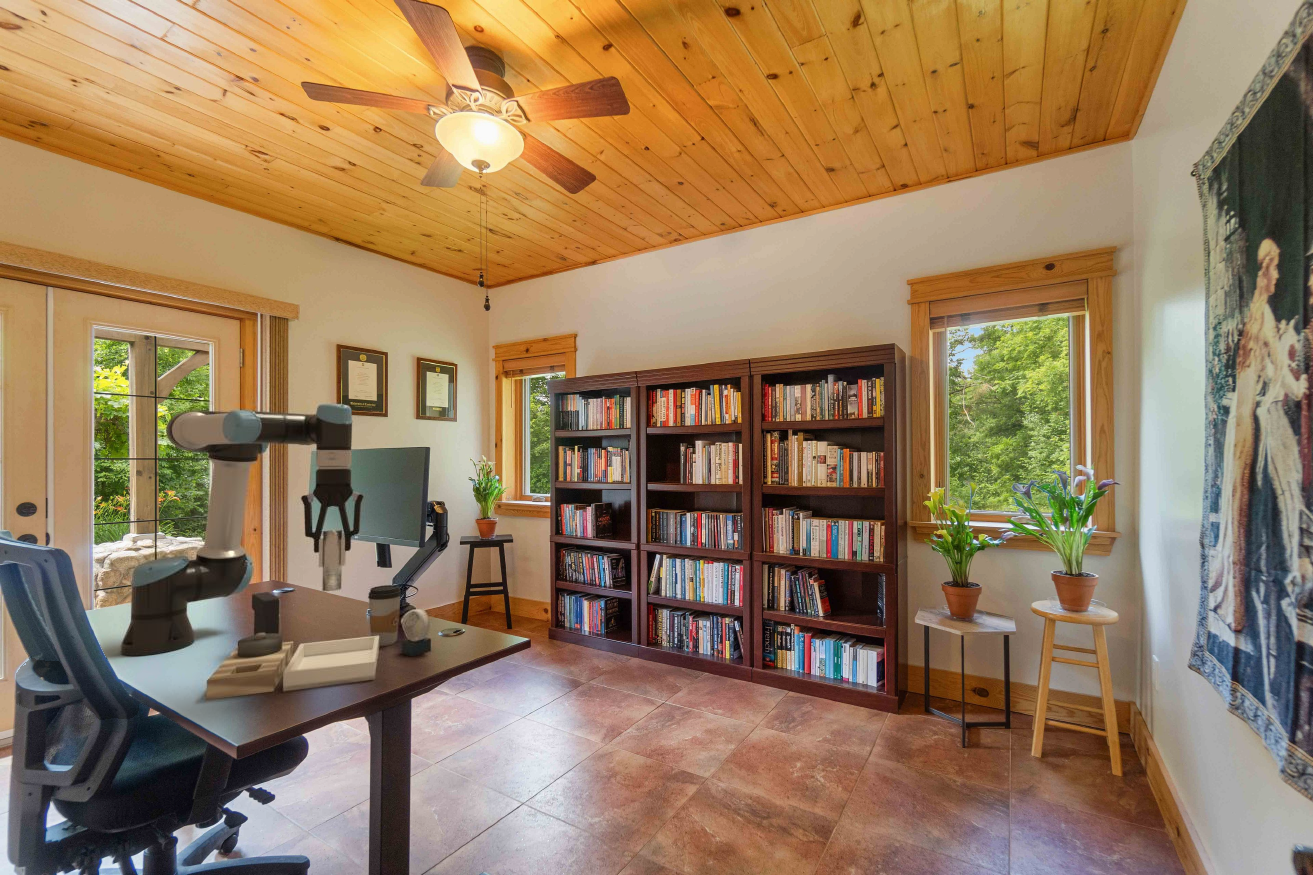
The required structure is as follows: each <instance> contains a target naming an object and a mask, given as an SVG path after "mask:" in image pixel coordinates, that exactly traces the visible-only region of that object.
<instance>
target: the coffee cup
mask: <svg viewBox="0 0 1313 875" xmlns="http://www.w3.org/2000/svg"><path fill="white" fill-rule="evenodd" d="M401 596H402V591H401V589H400V586H399V585H396V584H395V585H394V584H393V585H392V584H386V585H379V586H373V587H371V588H370V590H369V592H368V597H367V599H368V602H369V603H368V605H369V629H370V630H369V631H370V636H379V647H386V646H391V645H393V644H395V643H396V641H397V640H398V630H399V623H400V611H401V610H400V605H401Z"/></svg>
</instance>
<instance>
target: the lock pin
mask: <svg viewBox="0 0 1313 875" xmlns="http://www.w3.org/2000/svg"><path fill="white" fill-rule="evenodd" d="M342 537H343V530H342V529H329V530H328V529H326V530H322V538H323V567H322V579H321V580H322V582H321V583H322V584H321V589H322V591H323V592H333V591H335V592H336V591H340V590H341V589H342V573H343V572H342V567H343V566H341V538H342Z"/></svg>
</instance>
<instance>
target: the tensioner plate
mask: <svg viewBox="0 0 1313 875" xmlns="http://www.w3.org/2000/svg"><path fill="white" fill-rule="evenodd" d="M293 656H294V641H287V642H286V641H283V635H282V634H281V633H280V634H274V633H271V634H266V633H258V634H256V635H254V634H253V635H250V636H246V637H244V638H241V639H239V640H237V647H236V648H235V649H234V650H233V651H232V652H231V653H230V655H229V656H228V657H227V658H226V659H225V660H223V662H222V663H221V665H219V666H218V667H217V669H216V670H215V671H214V672H213V673H212V674H211V675H210V676H209V678H207V680H206V695H205V696H206V698H205V700H206V701H207V700H216V699H217V700H218V699H223V698H225V699H226V698H230V697H238V696H239V697H240V696H246V695H248V696H249V695H255V694H262V693H268V692H269V693H270V692H274V690H276V689H275V688H276V687H277V685H278V684H279V683H280V681H281V679H282V677H283V673H284V671H285V669H286V668H287V666H288V664H289V662H290V661H291V659H292V657H293Z"/></svg>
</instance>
